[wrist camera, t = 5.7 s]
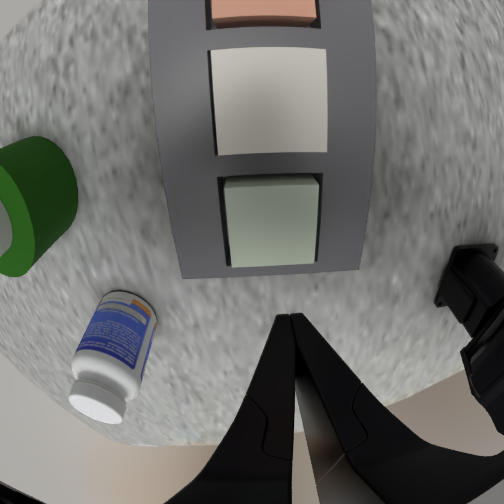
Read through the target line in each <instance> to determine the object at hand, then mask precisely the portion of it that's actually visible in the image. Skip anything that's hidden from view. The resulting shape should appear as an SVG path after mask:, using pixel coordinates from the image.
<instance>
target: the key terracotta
mask: <svg viewBox="0 0 504 504" xmlns="http://www.w3.org/2000/svg"><path fill="white" fill-rule="evenodd" d="M315 18H316V8H315V0H212V19H213V21H214V23H215V25H216V28H217V29H225V28H239V27H303V28H307V27H308V26H309V25H310V24H311V23H312V22H313V20H314V19H315Z"/></svg>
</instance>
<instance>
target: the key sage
mask: <svg viewBox="0 0 504 504" xmlns="http://www.w3.org/2000/svg"><path fill="white" fill-rule="evenodd" d="M224 192H225V203H226V214H227V224H228V234H229V244H230V254H231V264H232V268H235V267H256V266H276V265H294V264H312V263H314V257H315V245H316V231H317V214H318V195H319V184H318V183H317V181H316V180H315V179H314V178H313V176H312V175H311V174H310V173H277V174H253V175H235V176H227V178H226V183H225V187H224Z"/></svg>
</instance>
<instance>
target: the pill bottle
mask: <svg viewBox="0 0 504 504" xmlns="http://www.w3.org/2000/svg"><path fill="white" fill-rule="evenodd" d="M156 325H157V320H156V316H155V313H154V311H153V310H152V308H151V307H150V306H149V305H148V304H147V303H146V302H145V301H144V300H142V299H141V298H139V297H137V296H135V295H133V294H130V293H126V292H111V293H109V294H107V295H105V296H104V297H103V299H102V300H101V302H100V303H99V305H98V307H97V309H96V311H95V313H94V315H93V317H92V319H91V321H90V323H89V325H88V327H87V329H86V331H85V333H84V335H83V338H82V340H81V342H80V344H79V346H78V348H77V350H76V352H75V354H74V357H73V359H72V364H71V367H72V372H73V374H74V376H75V378H76V379H77V380H75V381H74V383H73V386H72V389H71V391H70V394H69V401H70V403H71V404H72V405H73V406H74V407H75V408H76V409H77V410H78V411H80V412H81V413H83V414H85V415H87V416H88V417H91V418H93V419H95V420H98V421H101V422H105V423H110V424H118V423H121V422H122V420H123V417H124V413H125V410H126V402H125V401H128V400H131V399H133V398H135V397H136V396H137V394H138V393H139V390H140V386H141V383H142V379H143V375H144V371H145V367H146V363H147V359H148V355H149V351H150V347H151V344H152V340H153V337H154V334H155V330H156Z"/></svg>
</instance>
